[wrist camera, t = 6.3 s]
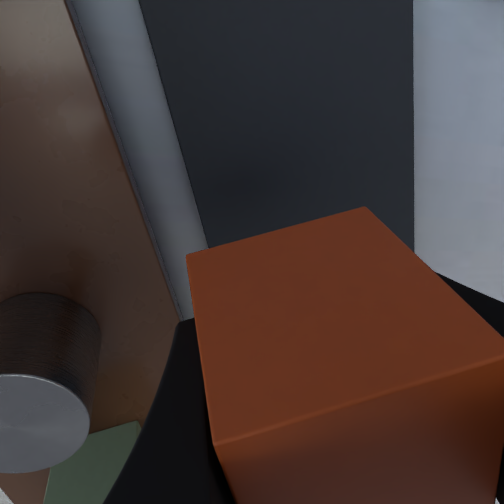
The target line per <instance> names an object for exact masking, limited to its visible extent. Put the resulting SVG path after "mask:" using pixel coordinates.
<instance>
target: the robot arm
mask: <svg viewBox="0 0 504 504" xmlns="http://www.w3.org/2000/svg"><path fill="white" fill-rule="evenodd" d="M435 273H436V272H435ZM436 274H437V275H438V276H439V277H440V278H441V279H442V280H443V281H444V282H445V283H446V284H448V285H449V286H450V287H451V288H452V289H453V290H454V291H455V292H456V293H457V294H458V295H459V296H460V297H461V298H462V299H463V300H464V301H465V302H466V303H467V304H469V305H470V306H471V307H472V308H473V309H474V310H475V311H476V312H477V313H478V314H479V315H480V316H481V317H482V318H483V319H484V320H485V321H486V322H487V323H488V324H489V325H491V326H492V327H493V328H494V329H495V330H496V331H497V332H498V333H499V334H500V335H501V336H502V337H503V338H504V303H503V302H501V301H498V300H496V299H494V298H491V297H489V296H487V295H484V294H482V293H480V292H478V291H475V290H473V289H471V288H469V287H466V286H464V285H462V284H460V283H458V282H456V281H453V280H451V279H449V278H447V277H445V276H443V275H441V274H438V273H436ZM496 498H497V500H498V502H499V503H500V504H504V448H503V454H502V461H501V467H500V474H499V480H498V486H497V493H496ZM103 504H235V502H234V499H233V496H232V494H231V491H230V488H229V486H228V483H227V481H226V478H225V475H224V473H223V470H222V467H221V465H220V462H219V459H218V457H217V454H216V452H215V449H214V446H213V442H212V435H211V428H210V422H209V415H208V408H207V401H206V394H205V387H204V380H203V373H202V366H201V359H200V352H199V345H198V339H197V332H196V325H195V318H192V319H188V320H185V321H181V322H179V323H178V324H177V326H176V327H175V332H174V337H173V341H172V345H171V349H170V352H169V356H168V359H167V363H166V366H165V369H164V372H163V375H162V378H161V381H160V383H159V386H158V389H157V392H156V395H155V397H154V400H153V402H152V405H151V407H150V410H149V412H148V415H147V417H146V419H145V422H144V424H143V427H142V429H141V431H140V433H139V436H138V438H137V440H136V442H135V444H134V446H133V448H132V450H131V452H130V454H129V456H128V458H127V460H126V462H125V464H124V466H123V468H122V470H121V472H120V474H119V476H118V477H117V479H116V481H115V483H114V484H113V486H112V488H111V490H110V491H109V493H108V495H107V497H106V498H105V500H104V502H103Z"/></svg>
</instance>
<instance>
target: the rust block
mask: <svg viewBox="0 0 504 504" xmlns="http://www.w3.org/2000/svg"><path fill="white" fill-rule="evenodd" d="M186 263H187V269H188V276H189V283H190V290H191V297H192V304H193V311H194V318H195V325H196V332H197V339H198V345H199V352H200V359H201V366H202V373H203V380H204V387H205V394H206V401H207V408H208V415H209V422H210V428H211V435H212V442H213V446H214V449H215V452H216V454H217V457H218V459H219V462H220V465H221V467H222V470H223V473H224V475H225V478H226V481H227V483H228V486H229V488H230V491H231V494H232V496H233V499H234V502H235V504H495V499H496V493H497V486H498V480H499V474H500V467H501V461H502V454H503V448H504V338H503V337H502V336H501V335H500V334H499V333H498V332H497V331H496V330H495V329H494V328H493V327H492V326H491V325H489V324H488V323H487V322H486V321H485V320H484V319H483V318H482V317H481V316H480V315H479V314H478V313H477V312H476V311H475V310H474V309H473V308H472V307H471V306H470V305H469V304H467V303H466V302H465V301H464V300H463V299H462V298H461V297H460V296H459V295H458V294H457V293H456V292H455V291H454V290H453V289H452V288H451V287H450V286H449V285H448V284H446V283H445V282H444V281H443V280H442V279H441V278H440V277H439V276H438V275H437V274H436V273H435V272H434V271H433V270H432V269H431V268H430V267H429V266H428V265H427V264H426V263H424V262H423V261H422V260H421V259H420V258H419V257H418V256H417V255H416V254H415V253H414V252H413V251H412V250H411V249H410V248H409V247H408V246H407V245H406V244H405V243H403V242H402V241H401V240H400V239H399V238H398V237H397V236H396V235H395V234H394V233H393V232H392V231H391V230H390V229H389V228H388V227H387V226H386V225H385V224H384V223H383V222H381V221H380V220H379V219H378V218H377V217H376V216H375V215H374V214H373V213H372V212H371V211H370V210H369V209H368V208H367V207H360V208H356V209H353V210H349V211H345V212H342V213H338V214H334V215H330V216H327V217H323V218H319V219H316V220H312V221H308V222H305V223H301V224H297V225H294V226H290V227H286V228H283V229H279V230H275V231H272V232H268V233H264V234H260V235H257V236H253V237H249V238H246V239H242V240H238V241H235V242H231V243H227V244H224V245H220V246H216V247H213V248H209V249H205V250H201V251H198V252H194V253H190V254H187V255H186Z"/></svg>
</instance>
